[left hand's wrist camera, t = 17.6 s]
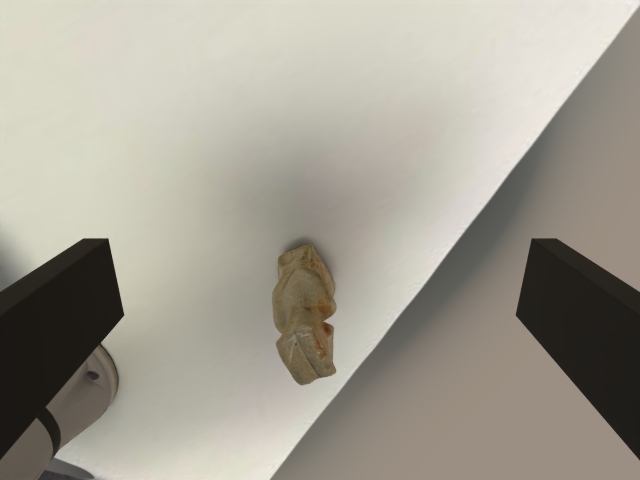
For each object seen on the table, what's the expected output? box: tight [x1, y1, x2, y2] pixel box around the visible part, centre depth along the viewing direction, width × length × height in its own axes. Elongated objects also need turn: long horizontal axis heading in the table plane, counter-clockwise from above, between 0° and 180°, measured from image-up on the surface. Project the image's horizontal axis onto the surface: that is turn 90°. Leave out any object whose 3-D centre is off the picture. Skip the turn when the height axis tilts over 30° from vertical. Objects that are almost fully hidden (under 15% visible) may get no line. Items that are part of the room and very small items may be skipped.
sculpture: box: [272, 244, 337, 385], centre depth 37 cm, size 6×7×15 cm
